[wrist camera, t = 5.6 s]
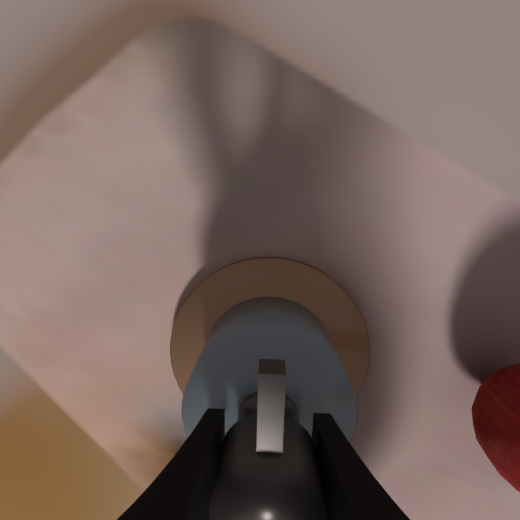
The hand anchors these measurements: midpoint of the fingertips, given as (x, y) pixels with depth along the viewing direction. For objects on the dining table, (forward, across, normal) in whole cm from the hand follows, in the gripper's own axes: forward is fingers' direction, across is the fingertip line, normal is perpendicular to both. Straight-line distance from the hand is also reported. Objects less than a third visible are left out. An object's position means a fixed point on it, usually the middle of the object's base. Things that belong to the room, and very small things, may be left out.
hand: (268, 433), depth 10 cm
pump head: (0, 0, -1) cm, 1 cm away
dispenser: (+6, 0, 0) cm, 6 cm away
